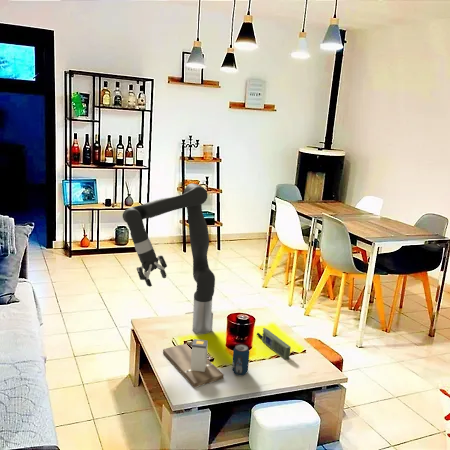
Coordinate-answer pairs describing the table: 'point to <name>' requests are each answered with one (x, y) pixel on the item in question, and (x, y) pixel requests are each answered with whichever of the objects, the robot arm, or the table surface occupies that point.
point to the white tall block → (199, 355)
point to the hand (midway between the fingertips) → (157, 281)
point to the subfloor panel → (182, 362)
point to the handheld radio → (275, 344)
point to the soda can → (240, 359)
